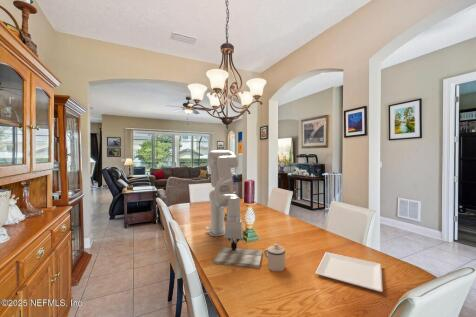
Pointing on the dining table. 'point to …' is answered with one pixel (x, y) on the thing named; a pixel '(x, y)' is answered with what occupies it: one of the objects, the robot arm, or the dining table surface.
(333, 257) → the plate
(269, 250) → the teacup with lid
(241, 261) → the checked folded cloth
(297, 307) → the dining table surface
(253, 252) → the folded checkered cloth
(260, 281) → the dining table surface
